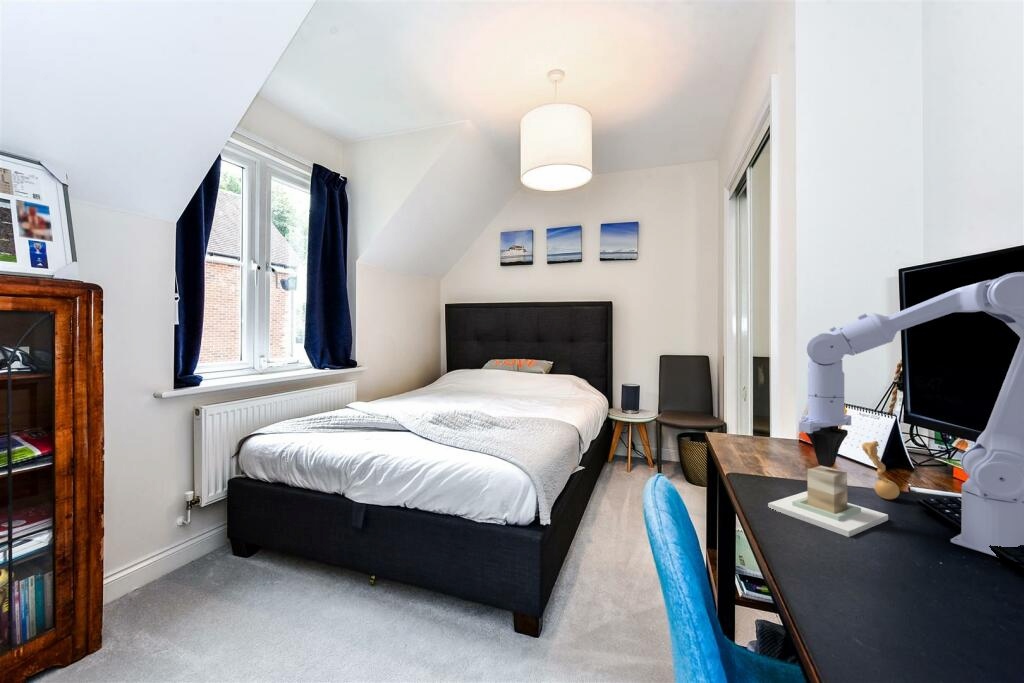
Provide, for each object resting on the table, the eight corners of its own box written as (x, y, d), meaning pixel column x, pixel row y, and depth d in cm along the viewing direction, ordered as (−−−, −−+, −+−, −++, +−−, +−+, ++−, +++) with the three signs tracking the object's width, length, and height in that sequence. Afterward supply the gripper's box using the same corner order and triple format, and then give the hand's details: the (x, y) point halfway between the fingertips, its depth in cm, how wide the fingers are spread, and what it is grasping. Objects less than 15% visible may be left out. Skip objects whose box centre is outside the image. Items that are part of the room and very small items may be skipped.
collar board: (807, 495, 92) (807, 487, 92) (888, 520, 80) (888, 510, 80) (768, 508, 86) (768, 499, 86) (848, 537, 73) (848, 526, 73)
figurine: (900, 507, 85) (900, 447, 85) (861, 500, 89) (861, 443, 89) (898, 495, 92) (898, 439, 91) (862, 488, 96) (862, 435, 95)
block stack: (820, 502, 86) (820, 465, 85) (847, 511, 81) (847, 472, 81) (807, 507, 83) (807, 469, 83) (833, 515, 79) (833, 476, 79)
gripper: (823, 390, 89) (823, 455, 89) (782, 396, 83) (782, 465, 83) (863, 394, 83) (863, 464, 83) (822, 400, 76) (822, 476, 76)
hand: (826, 465), depth 82 cm, fingers closed
